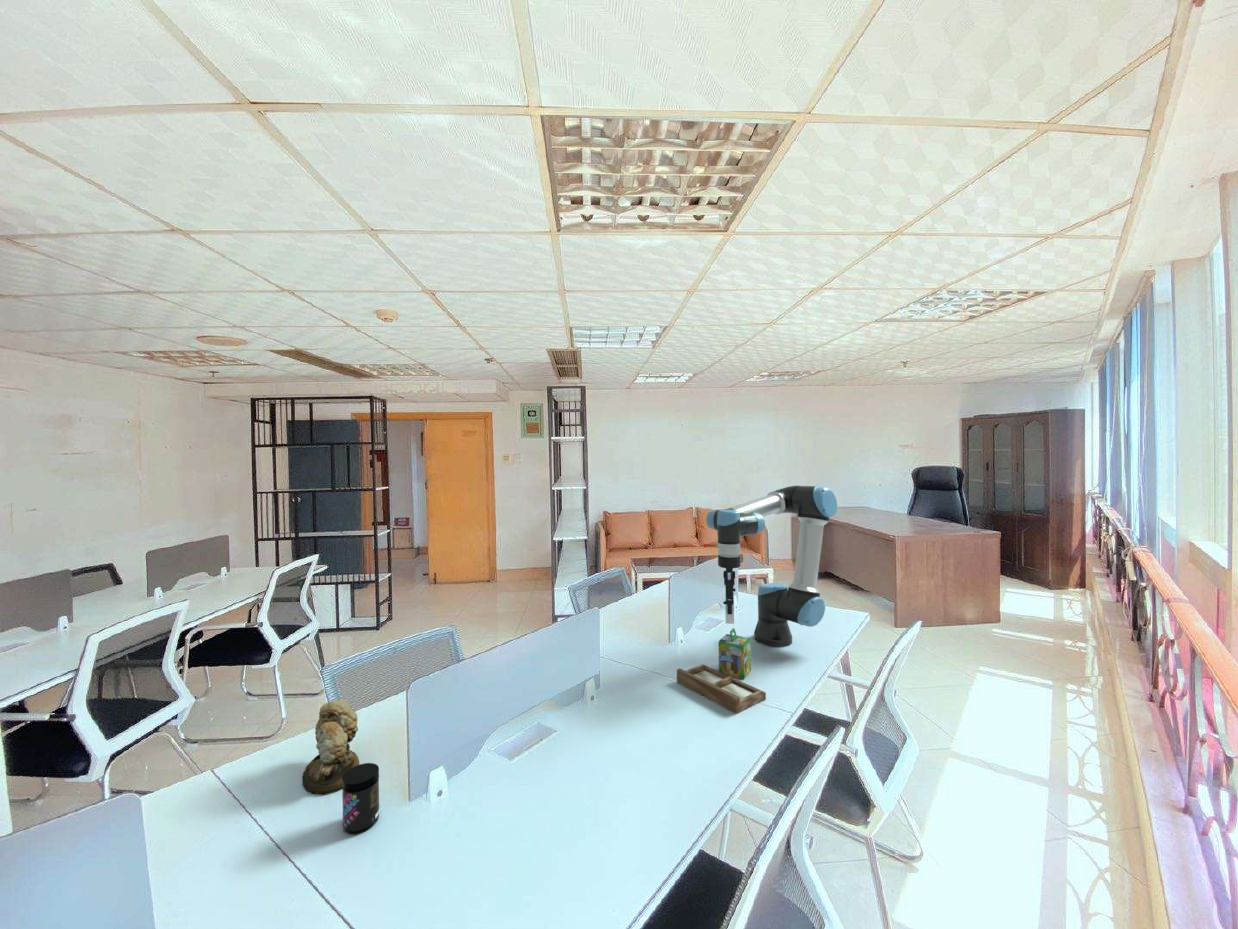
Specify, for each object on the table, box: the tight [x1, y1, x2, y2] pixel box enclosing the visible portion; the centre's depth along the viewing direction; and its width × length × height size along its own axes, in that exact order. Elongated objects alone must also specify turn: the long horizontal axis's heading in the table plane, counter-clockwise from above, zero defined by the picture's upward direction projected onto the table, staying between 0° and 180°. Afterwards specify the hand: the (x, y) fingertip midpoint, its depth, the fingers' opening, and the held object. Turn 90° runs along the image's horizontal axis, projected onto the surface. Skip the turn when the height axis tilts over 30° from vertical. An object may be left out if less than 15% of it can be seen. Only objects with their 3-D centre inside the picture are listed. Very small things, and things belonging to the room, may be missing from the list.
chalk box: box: [718, 627, 752, 680], centre depth 168 cm, size 9×9×15 cm
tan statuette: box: [301, 699, 360, 796], centre depth 115 cm, size 18×12×17 cm, turn 36°
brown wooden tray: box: [676, 664, 767, 715], centre depth 154 cm, size 14×25×4 cm, turn 37°
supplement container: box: [341, 762, 380, 835], centre depth 99 cm, size 7×7×10 cm
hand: (730, 616), depth 165 cm, fingers open, 13 cm apart
